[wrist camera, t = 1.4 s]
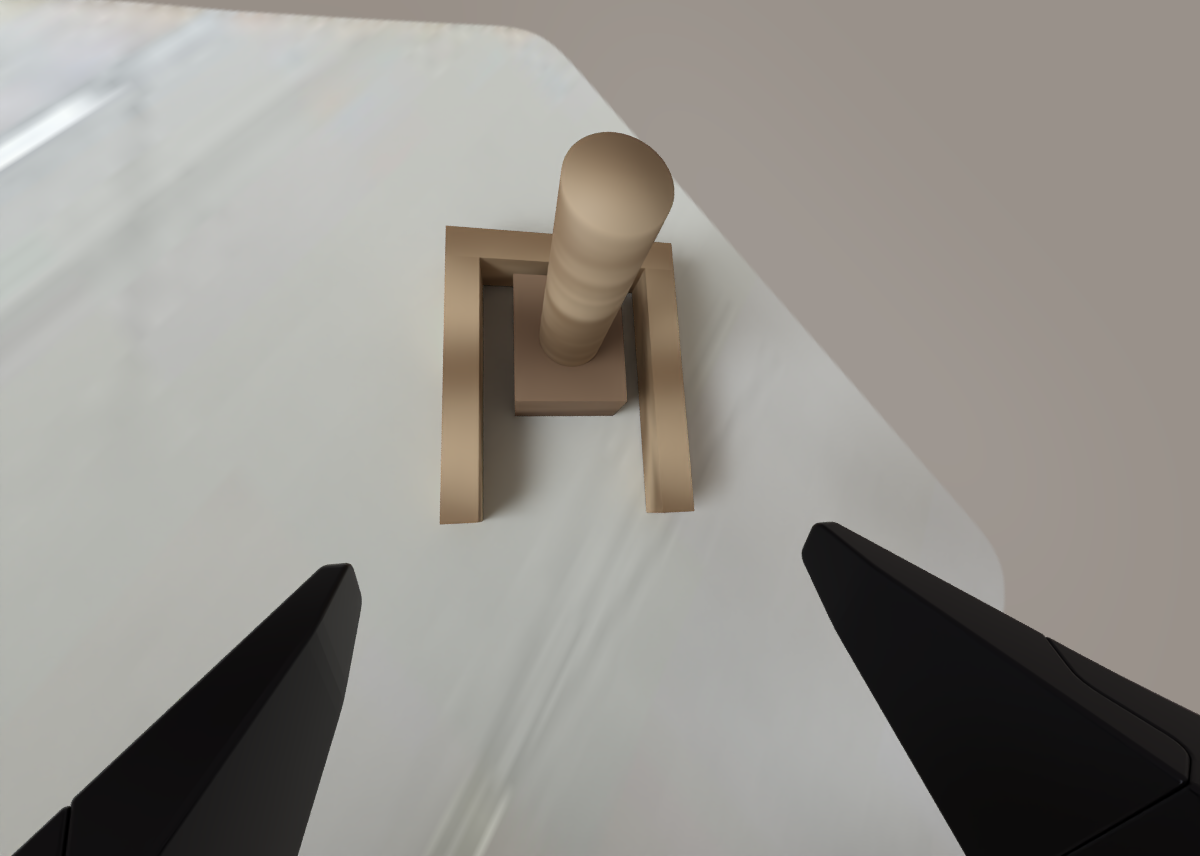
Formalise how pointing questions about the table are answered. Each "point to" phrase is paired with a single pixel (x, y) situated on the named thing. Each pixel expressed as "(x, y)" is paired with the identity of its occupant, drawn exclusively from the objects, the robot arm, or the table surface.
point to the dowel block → (588, 278)
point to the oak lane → (467, 269)
